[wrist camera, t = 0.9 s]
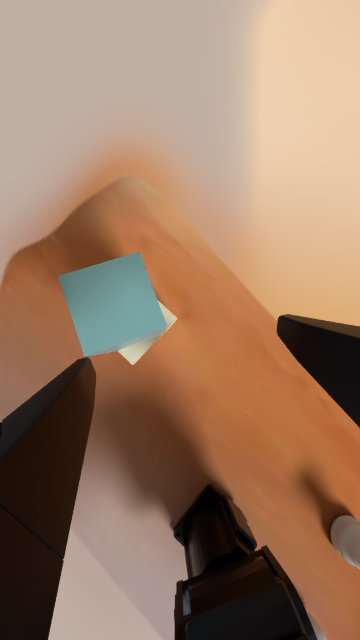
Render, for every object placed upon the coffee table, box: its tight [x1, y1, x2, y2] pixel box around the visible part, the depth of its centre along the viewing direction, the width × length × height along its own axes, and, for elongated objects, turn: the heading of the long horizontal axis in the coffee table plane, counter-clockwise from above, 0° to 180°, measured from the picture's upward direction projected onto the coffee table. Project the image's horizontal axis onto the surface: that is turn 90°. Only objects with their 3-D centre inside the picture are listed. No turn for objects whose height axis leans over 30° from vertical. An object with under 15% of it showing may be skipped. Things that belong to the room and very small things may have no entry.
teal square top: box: [58, 252, 167, 356], centre depth 17 cm, size 5×5×9 cm
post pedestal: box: [118, 301, 177, 365], centre depth 21 cm, size 7×7×7 cm
